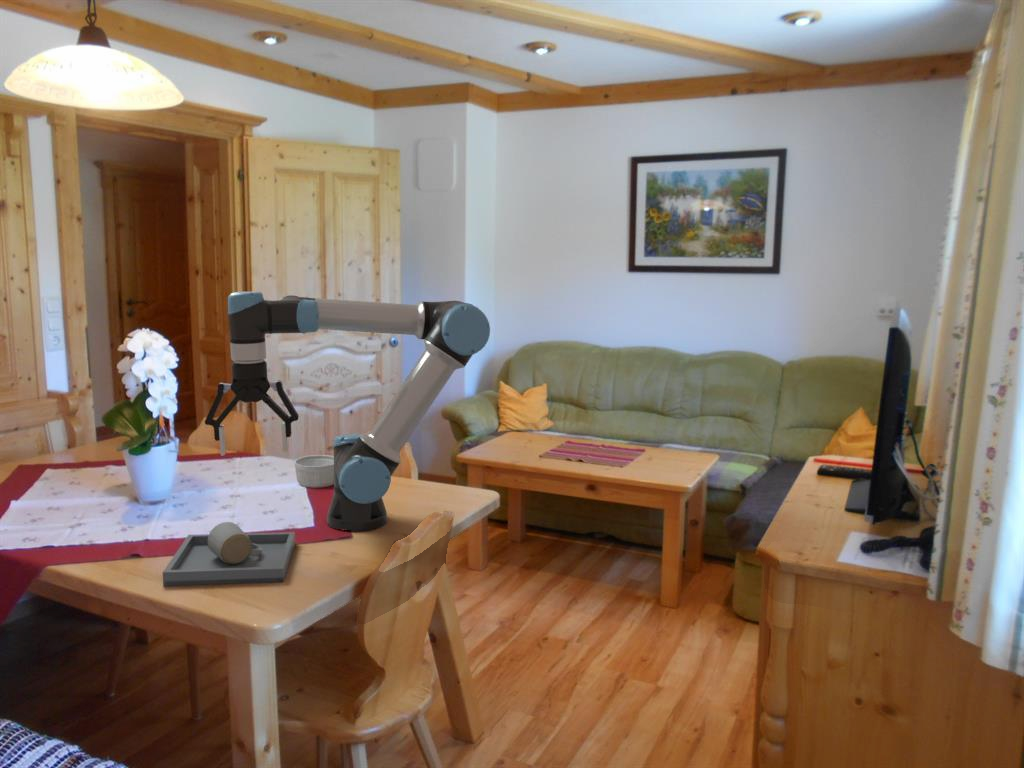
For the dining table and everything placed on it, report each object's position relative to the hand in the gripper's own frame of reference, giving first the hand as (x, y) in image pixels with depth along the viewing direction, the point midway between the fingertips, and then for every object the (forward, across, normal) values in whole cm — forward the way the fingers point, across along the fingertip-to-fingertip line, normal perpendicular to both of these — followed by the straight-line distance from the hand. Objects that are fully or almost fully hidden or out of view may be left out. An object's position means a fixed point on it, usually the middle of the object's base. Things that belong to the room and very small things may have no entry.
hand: (254, 452), depth 183 cm
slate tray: (+23, +5, +9) cm, 25 cm away
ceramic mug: (+22, +4, +9) cm, 24 cm away
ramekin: (+24, -12, -52) cm, 58 cm away
